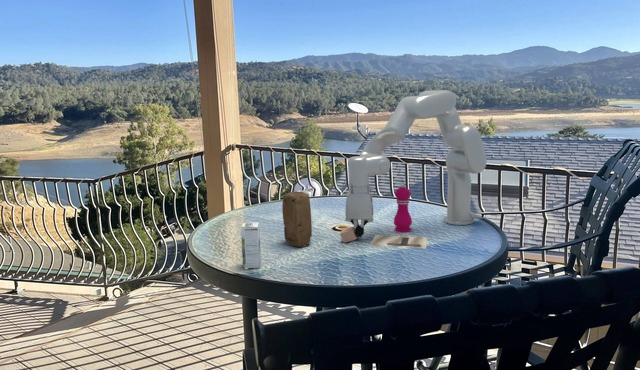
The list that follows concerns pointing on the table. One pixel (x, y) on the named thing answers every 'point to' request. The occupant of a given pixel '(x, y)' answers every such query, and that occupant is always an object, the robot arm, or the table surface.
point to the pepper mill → (402, 210)
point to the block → (297, 218)
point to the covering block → (348, 234)
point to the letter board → (399, 241)
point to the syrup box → (251, 245)
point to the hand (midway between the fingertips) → (359, 236)
